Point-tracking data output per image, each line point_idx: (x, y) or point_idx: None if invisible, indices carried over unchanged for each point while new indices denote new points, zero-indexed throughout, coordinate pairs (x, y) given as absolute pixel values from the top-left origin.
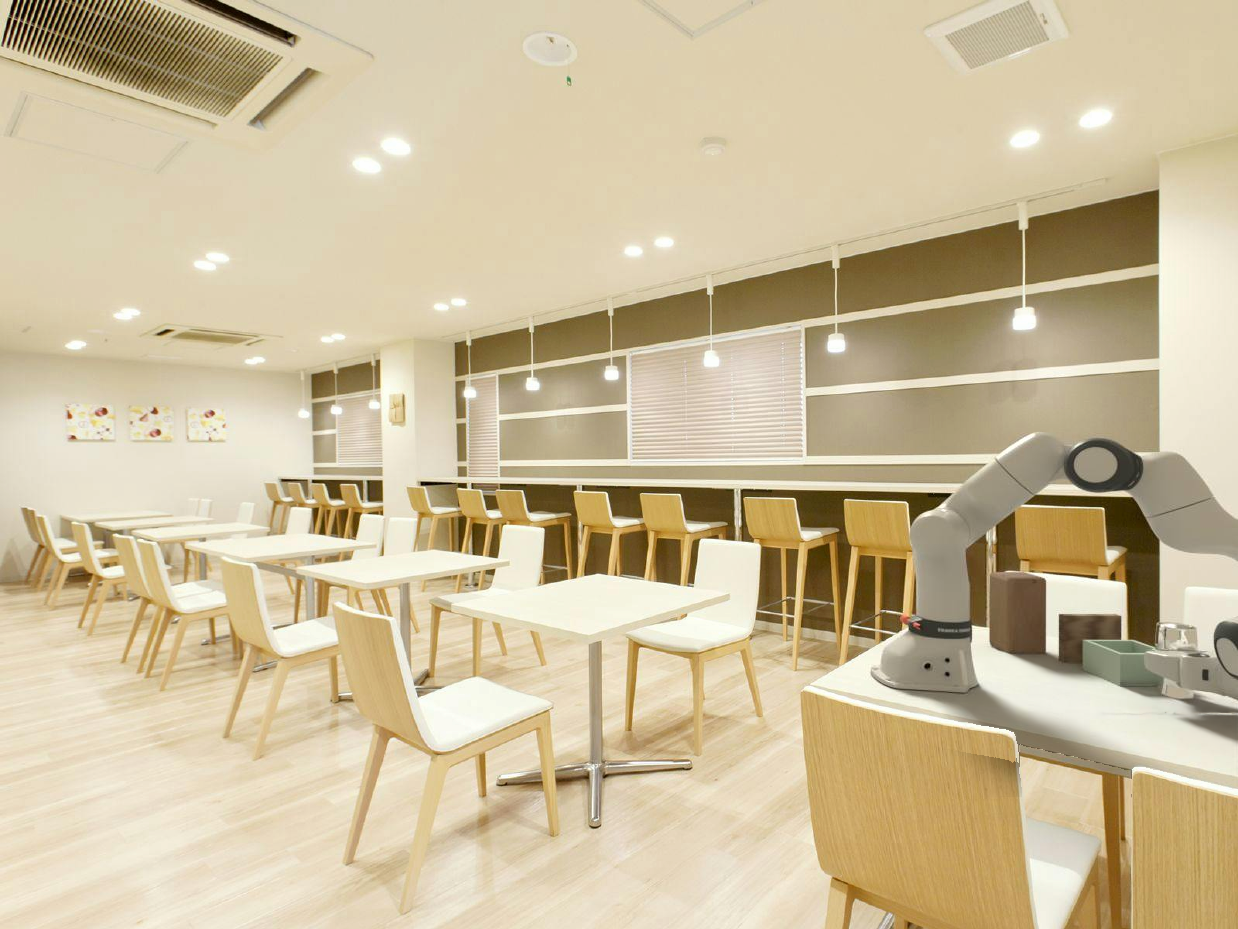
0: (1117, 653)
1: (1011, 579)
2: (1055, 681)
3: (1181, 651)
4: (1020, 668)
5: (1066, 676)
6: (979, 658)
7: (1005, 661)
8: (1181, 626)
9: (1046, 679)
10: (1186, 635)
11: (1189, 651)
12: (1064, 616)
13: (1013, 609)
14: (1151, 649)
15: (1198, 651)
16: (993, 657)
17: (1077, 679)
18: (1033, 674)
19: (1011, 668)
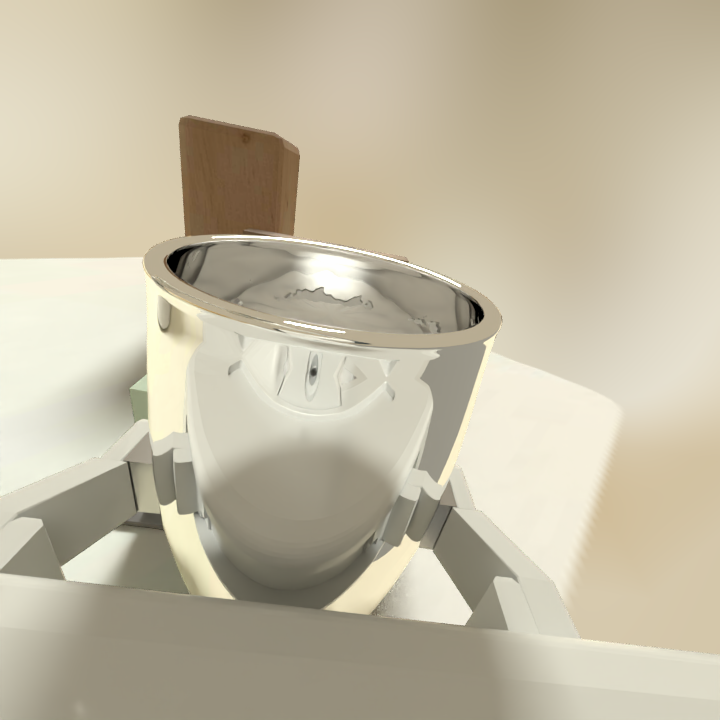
0: (142, 379)
1: (184, 119)
2: (14, 420)
3: (28, 646)
4: (90, 350)
5: (129, 400)
6: (94, 310)
7: (127, 326)
8: (434, 296)
9: (15, 405)
10: (260, 411)
11: (165, 659)
12: (244, 232)
13: (191, 209)
14: (139, 422)
15: (318, 665)
16: (137, 313)
17: (126, 421)
18: (50, 376)
19: (64, 346)
